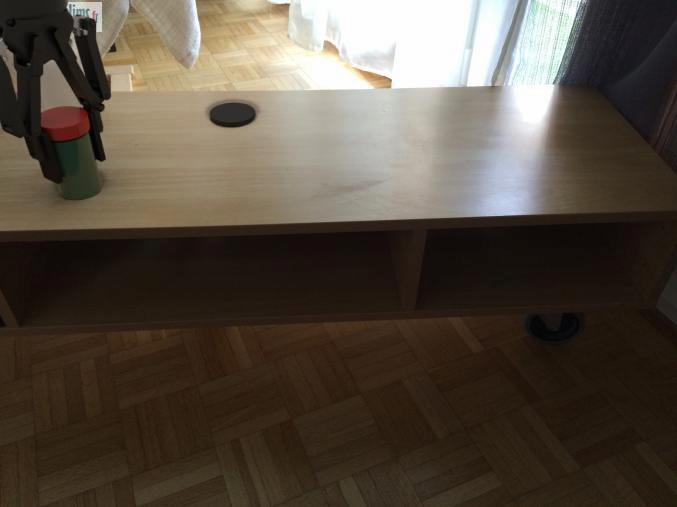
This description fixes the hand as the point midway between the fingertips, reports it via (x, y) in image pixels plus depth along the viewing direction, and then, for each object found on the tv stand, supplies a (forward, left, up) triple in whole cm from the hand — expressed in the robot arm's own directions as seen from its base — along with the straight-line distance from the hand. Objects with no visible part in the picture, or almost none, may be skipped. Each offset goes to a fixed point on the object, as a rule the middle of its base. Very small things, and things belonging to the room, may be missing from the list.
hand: (75, 168), depth 76 cm
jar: (0, 0, -3) cm, 3 cm away
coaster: (+14, +23, -3) cm, 27 cm away
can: (-9, +17, -3) cm, 20 cm away
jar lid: (0, 0, +7) cm, 7 cm away
